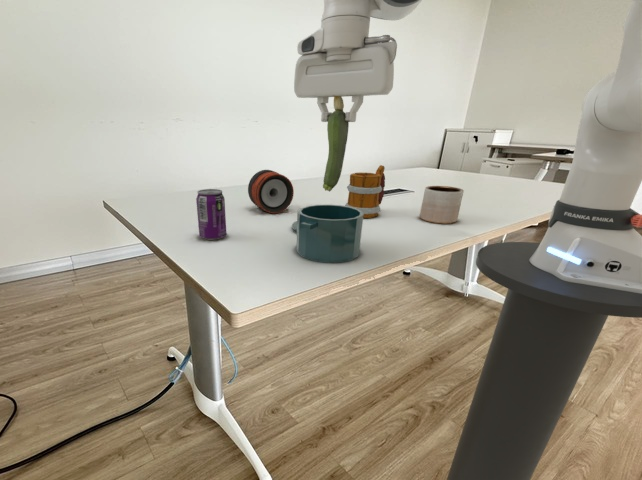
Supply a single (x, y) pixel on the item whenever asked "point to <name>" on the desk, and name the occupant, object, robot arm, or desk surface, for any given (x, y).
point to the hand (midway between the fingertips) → (337, 122)
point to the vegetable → (336, 144)
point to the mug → (367, 192)
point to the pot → (329, 233)
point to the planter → (441, 204)
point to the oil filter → (270, 191)
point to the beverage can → (211, 214)
